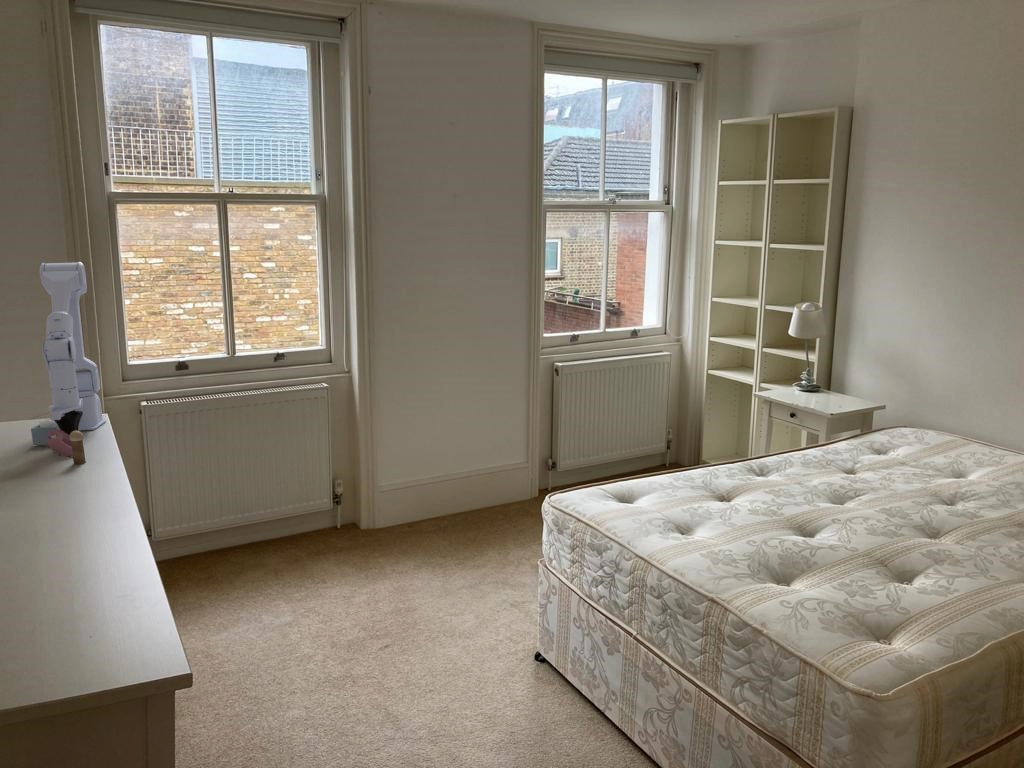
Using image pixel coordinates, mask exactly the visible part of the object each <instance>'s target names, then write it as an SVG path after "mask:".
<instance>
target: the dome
mask: <svg viewBox="0 0 1024 768" xmlns="http://www.w3.org/2000/svg"><path fill="white" fill-rule="evenodd" d="M38 424H40V427H55V426H57V423H56V422H55V421H54V420H51V419H50V418H48V419H46V420H45V419H44V420H42V421H39V423H38Z"/></svg>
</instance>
